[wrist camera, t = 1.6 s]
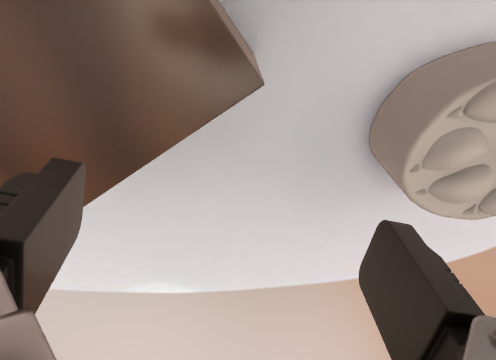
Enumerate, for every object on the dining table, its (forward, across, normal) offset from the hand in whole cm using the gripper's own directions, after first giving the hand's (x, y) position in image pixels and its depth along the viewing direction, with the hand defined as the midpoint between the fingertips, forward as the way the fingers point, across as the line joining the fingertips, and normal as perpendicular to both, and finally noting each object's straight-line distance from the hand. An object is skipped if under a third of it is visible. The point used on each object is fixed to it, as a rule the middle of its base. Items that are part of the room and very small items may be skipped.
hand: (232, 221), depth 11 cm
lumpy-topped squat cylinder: (+23, -18, 0) cm, 30 cm away
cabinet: (+23, +8, 0) cm, 24 cm away
